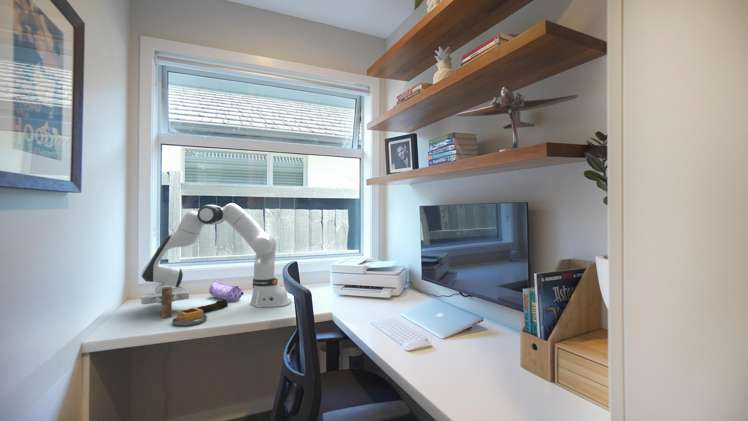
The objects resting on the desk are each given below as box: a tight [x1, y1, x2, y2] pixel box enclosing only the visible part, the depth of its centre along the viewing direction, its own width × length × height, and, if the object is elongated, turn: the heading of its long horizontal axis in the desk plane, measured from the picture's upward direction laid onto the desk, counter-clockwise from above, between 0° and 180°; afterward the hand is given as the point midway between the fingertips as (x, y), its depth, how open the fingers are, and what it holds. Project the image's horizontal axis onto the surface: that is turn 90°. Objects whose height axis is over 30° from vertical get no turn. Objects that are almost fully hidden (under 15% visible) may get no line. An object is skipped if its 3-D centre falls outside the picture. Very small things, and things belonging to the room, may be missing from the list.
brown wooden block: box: [160, 287, 173, 319], centre depth 158 cm, size 4×4×14 cm
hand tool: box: [196, 299, 229, 313], centre depth 169 cm, size 19×4×5 cm, turn 146°
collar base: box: [171, 307, 208, 328], centre depth 152 cm, size 14×14×5 cm
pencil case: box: [208, 280, 244, 303], centre depth 193 cm, size 22×9×10 cm, turn 59°
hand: (166, 300), depth 158 cm, fingers closed on brown wooden block, 4 cm apart
